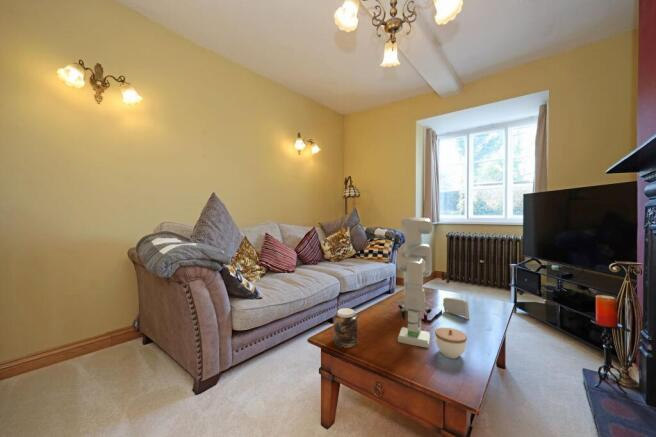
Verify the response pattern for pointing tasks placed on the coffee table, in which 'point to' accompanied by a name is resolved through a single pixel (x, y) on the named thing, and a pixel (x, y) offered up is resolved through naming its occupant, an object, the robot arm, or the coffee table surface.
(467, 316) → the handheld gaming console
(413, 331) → the ink box
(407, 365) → the coffee table surface
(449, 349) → the lidded bowl
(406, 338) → the stand
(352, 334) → the jar
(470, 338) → the coffee table surface
